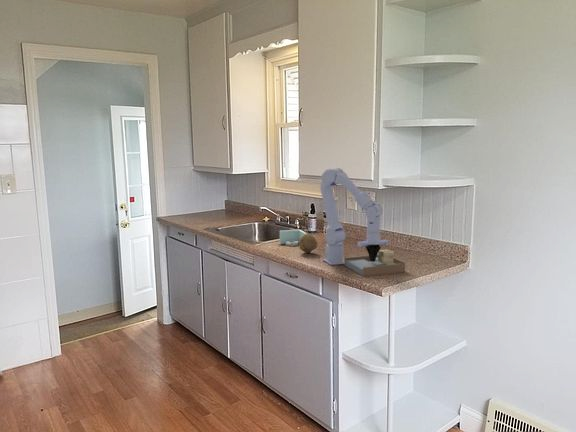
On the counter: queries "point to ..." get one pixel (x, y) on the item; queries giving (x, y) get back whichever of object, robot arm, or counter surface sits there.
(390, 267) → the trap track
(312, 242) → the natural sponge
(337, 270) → the counter surface
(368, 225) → the robot arm
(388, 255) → the wood block
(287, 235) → the l-shaped corner panel
